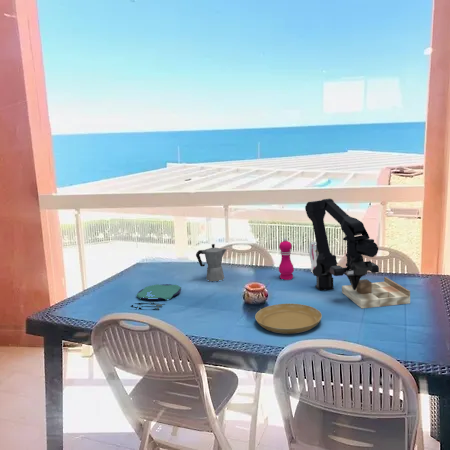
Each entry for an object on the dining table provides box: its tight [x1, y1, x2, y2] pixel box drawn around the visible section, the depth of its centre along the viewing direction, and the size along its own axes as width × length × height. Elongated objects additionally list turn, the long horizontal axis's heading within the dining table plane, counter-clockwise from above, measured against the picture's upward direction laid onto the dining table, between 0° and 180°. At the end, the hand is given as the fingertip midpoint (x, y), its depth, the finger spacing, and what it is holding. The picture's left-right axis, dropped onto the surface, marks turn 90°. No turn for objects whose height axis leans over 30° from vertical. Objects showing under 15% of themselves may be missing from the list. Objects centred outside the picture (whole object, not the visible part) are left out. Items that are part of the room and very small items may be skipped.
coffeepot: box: [195, 243, 227, 282], centre depth 225 cm, size 15×9×18 cm, turn 103°
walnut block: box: [357, 278, 373, 294], centre depth 187 cm, size 4×4×4 cm
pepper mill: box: [278, 237, 295, 281], centre depth 221 cm, size 7×7×20 cm
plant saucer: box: [254, 303, 323, 335], centre depth 168 cm, size 24×24×3 cm
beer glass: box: [308, 241, 318, 274], centre depth 228 cm, size 7×7×15 cm
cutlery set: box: [136, 283, 182, 309], centre depth 204 cm, size 20×30×2 cm, turn 165°
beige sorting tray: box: [341, 276, 411, 309], centre depth 188 cm, size 20×20×5 cm
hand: (354, 289), depth 187 cm, fingers closed
